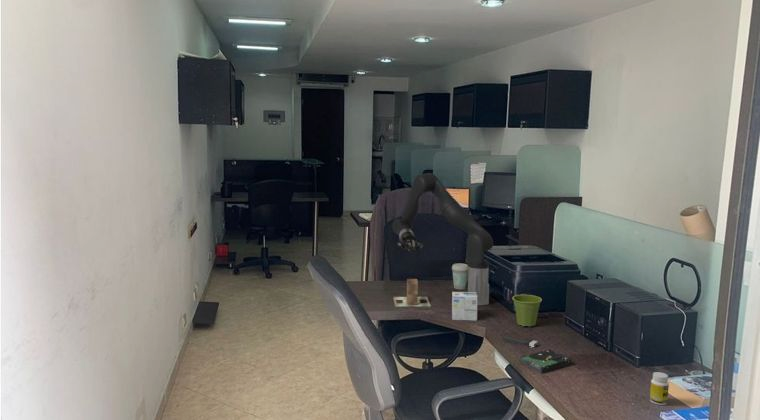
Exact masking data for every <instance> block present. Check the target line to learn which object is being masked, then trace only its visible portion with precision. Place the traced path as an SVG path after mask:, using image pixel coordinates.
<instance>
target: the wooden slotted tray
mask: <svg viewBox="0 0 760 420" xmlns="http://www.w3.org/2000/svg"><path fill="white" fill-rule="evenodd" d="M392 299H393V303H394V307H431V304H430V301H429V299H428V296H418V301H417V305H407V296H393V298H392ZM399 300H400V301H401V300H402V302H401V303H398V302H397V301H399ZM422 300H424V301H425V300H426V303H424V302H423V303H421V301H422Z"/></svg>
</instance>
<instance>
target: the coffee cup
mask: <svg viewBox="0 0 760 420" xmlns="http://www.w3.org/2000/svg"><path fill="white" fill-rule="evenodd" d="M468 266H469V264H467V263H461V262H460V263H453V264H452V266H451V270H452V280H453V281H452V282H453V288H454V289H456V290H465V289H467V288H466V286H467V282H468Z"/></svg>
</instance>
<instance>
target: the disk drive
mask: <svg viewBox="0 0 760 420" xmlns="http://www.w3.org/2000/svg"><path fill="white" fill-rule="evenodd" d="M519 364H520V365H522V366H524V367H526V368H528V369H531V370H532V371H535V372H537V373H539V374H545V373H548V372H551V371H554V370H557V369H562V368H566V367H568V366H571V365H572V358H570V357H568V356H566V355H563V354H561V353H559V352H557V353H556V352H555V351H554V350H551V349H546V350H542V351H541V350H540V351H539V352H534V353H531V354H528V355H523V356H520V357H519ZM561 367H562V368H561Z"/></svg>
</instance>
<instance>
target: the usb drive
mask: <svg viewBox="0 0 760 420" xmlns="http://www.w3.org/2000/svg"><path fill="white" fill-rule="evenodd" d="M502 342H504V343H508V342H509V343H508V344H512V343H514V344H513V345H516V344H520V345H524V346H531V347H530V348H532V347H534V344H537V346H538V344H539V343H538V342H539V341H537V340H534V339H533V338H531V337H527V336H522V335H519V334H514V333H508V334H507V335H505V336H504V337H503V339H502ZM520 345H519V346H520ZM524 346H523V347H524ZM534 348H535V347H534Z"/></svg>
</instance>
